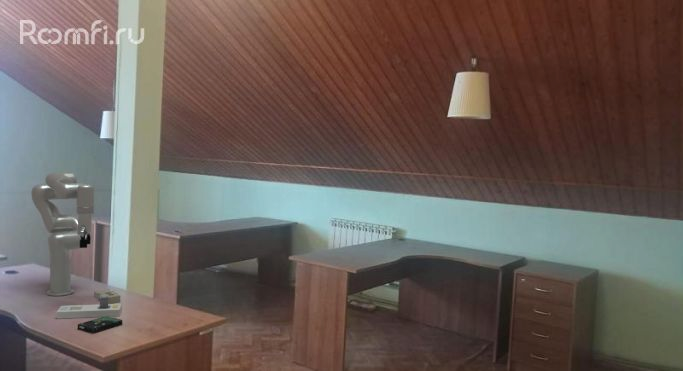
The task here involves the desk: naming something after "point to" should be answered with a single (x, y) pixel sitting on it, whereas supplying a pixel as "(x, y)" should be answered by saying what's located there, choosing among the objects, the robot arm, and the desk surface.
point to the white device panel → (88, 311)
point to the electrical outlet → (112, 296)
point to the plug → (104, 301)
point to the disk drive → (99, 324)
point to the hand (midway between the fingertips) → (85, 245)
